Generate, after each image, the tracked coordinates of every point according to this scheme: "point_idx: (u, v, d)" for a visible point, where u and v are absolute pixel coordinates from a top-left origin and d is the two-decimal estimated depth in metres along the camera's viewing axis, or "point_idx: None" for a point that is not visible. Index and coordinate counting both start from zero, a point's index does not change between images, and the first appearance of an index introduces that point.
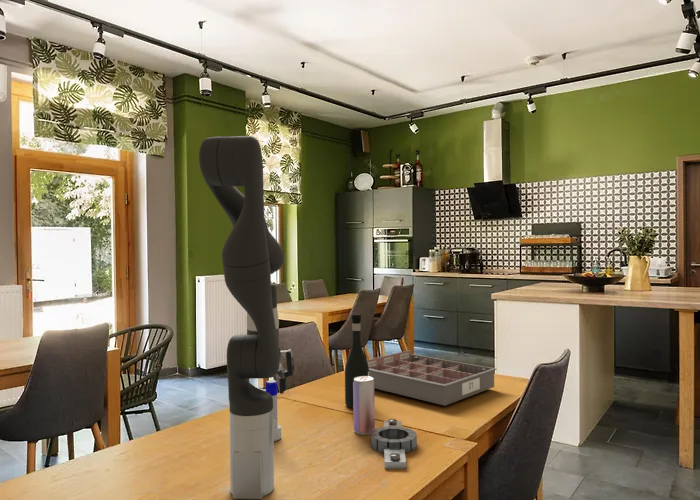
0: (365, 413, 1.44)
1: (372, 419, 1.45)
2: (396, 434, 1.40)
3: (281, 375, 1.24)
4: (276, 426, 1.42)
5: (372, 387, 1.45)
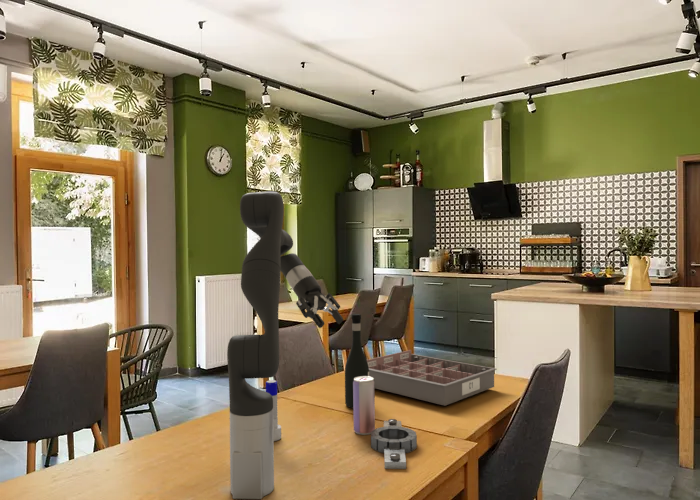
0: (365, 413, 1.44)
1: (372, 419, 1.45)
2: (396, 434, 1.40)
3: (335, 307, 1.59)
4: (276, 426, 1.42)
5: (372, 387, 1.45)
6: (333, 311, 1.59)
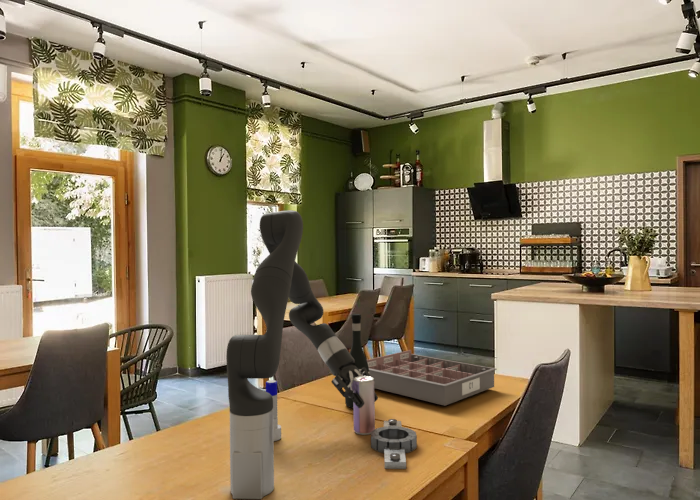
0: (365, 413, 1.44)
1: (372, 419, 1.45)
2: (396, 434, 1.40)
3: None
4: (276, 426, 1.42)
5: (372, 387, 1.45)
6: None
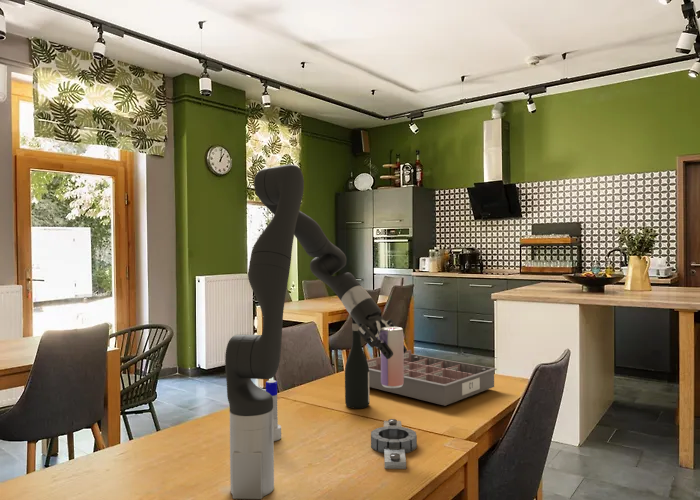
0: (393, 364, 1.34)
1: (401, 371, 1.35)
2: (396, 434, 1.40)
3: None
4: (276, 426, 1.42)
5: (401, 337, 1.35)
6: None
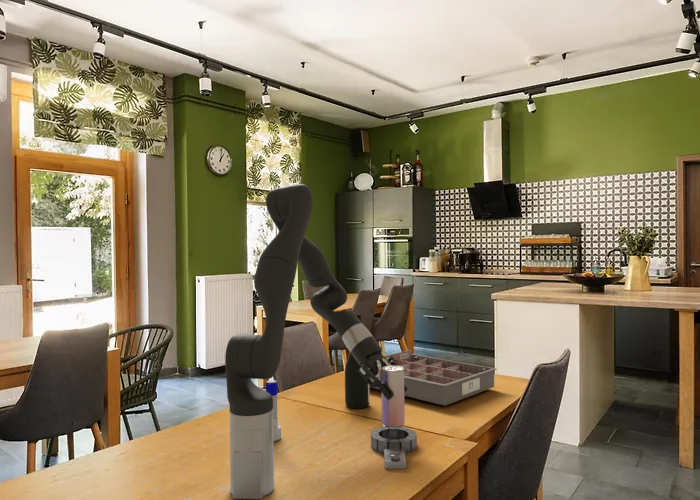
0: (394, 405, 1.34)
1: (402, 412, 1.35)
2: (396, 434, 1.40)
3: None
4: (276, 426, 1.42)
5: (402, 377, 1.35)
6: None
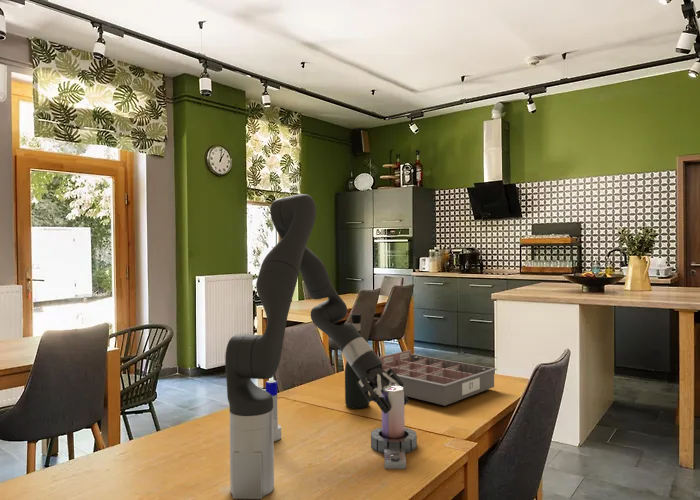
0: (394, 425, 1.34)
1: (402, 432, 1.35)
2: None
3: None
4: (276, 426, 1.42)
5: (402, 397, 1.35)
6: None
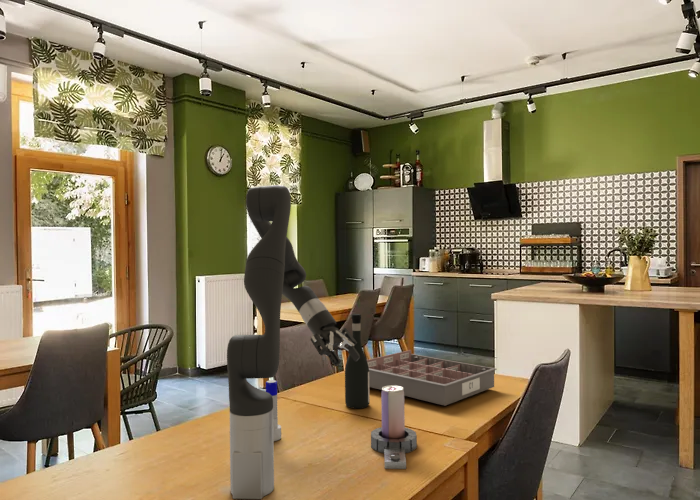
0: (394, 425, 1.34)
1: (402, 432, 1.35)
2: None
3: (351, 343, 1.50)
4: (276, 426, 1.42)
5: (402, 397, 1.35)
6: (349, 347, 1.50)
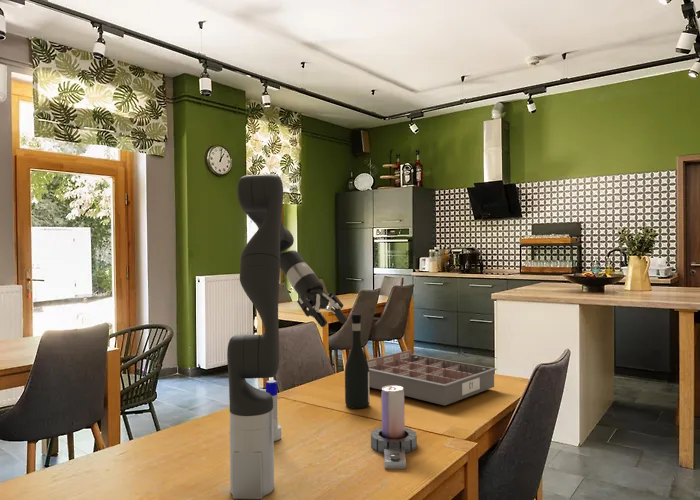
0: (394, 425, 1.34)
1: (402, 432, 1.35)
2: None
3: (338, 306, 1.51)
4: (276, 426, 1.42)
5: (402, 397, 1.35)
6: (336, 310, 1.51)
